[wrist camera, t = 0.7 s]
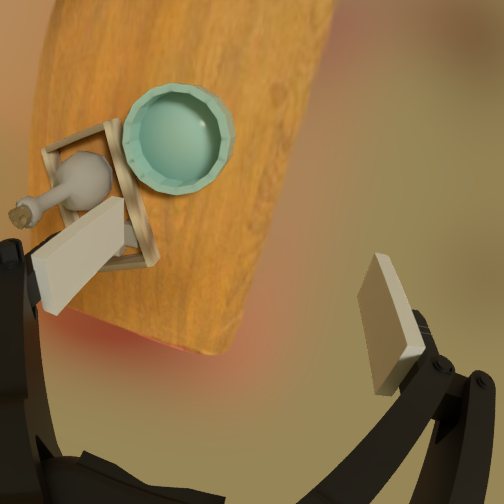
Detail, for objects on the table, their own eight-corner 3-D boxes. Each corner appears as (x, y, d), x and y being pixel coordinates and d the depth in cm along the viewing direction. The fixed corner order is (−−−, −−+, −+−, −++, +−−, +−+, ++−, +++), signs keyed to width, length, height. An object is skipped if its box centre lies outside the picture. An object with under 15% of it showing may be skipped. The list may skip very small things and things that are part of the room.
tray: (52, 144, 42) (40, 149, 40) (119, 117, 39) (108, 120, 37) (93, 264, 52) (84, 273, 49) (160, 257, 49) (153, 266, 46)
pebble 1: (108, 244, 50) (100, 251, 47) (108, 229, 48) (100, 235, 46) (126, 249, 49) (119, 256, 47) (126, 234, 48) (119, 241, 46)
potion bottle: (119, 148, 41) (33, 186, 26) (119, 205, 46) (45, 264, 30) (72, 145, 42) (-14, 180, 26) (75, 198, 46) (-2, 249, 30)
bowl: (125, 101, 38) (112, 103, 35) (222, 72, 35) (215, 70, 32) (149, 194, 44) (139, 202, 41) (244, 177, 41) (240, 184, 38)
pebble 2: (129, 218, 47) (122, 223, 45) (143, 221, 47) (137, 226, 45) (129, 238, 48) (122, 244, 46) (143, 241, 48) (137, 247, 46)
